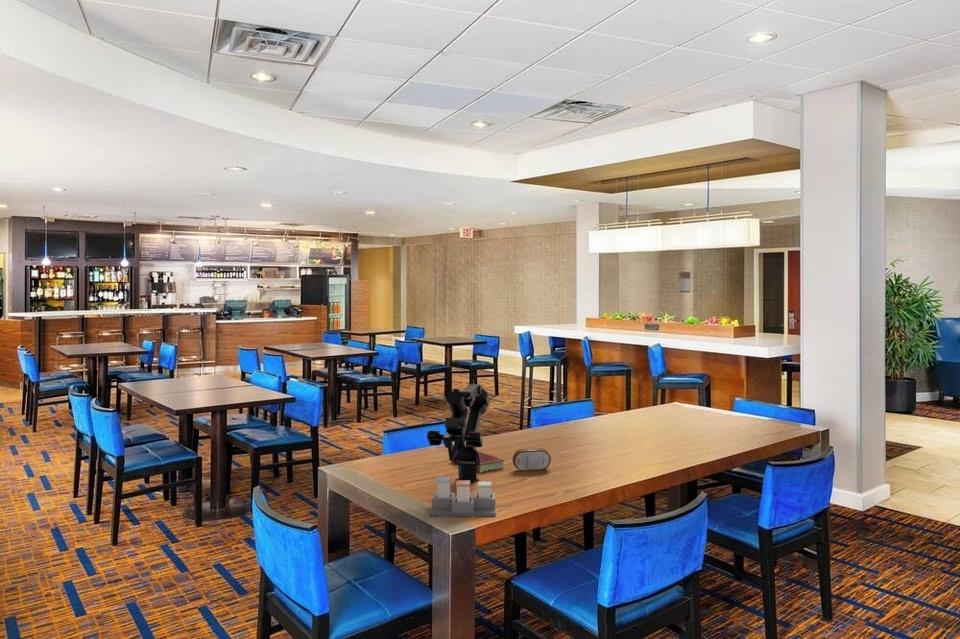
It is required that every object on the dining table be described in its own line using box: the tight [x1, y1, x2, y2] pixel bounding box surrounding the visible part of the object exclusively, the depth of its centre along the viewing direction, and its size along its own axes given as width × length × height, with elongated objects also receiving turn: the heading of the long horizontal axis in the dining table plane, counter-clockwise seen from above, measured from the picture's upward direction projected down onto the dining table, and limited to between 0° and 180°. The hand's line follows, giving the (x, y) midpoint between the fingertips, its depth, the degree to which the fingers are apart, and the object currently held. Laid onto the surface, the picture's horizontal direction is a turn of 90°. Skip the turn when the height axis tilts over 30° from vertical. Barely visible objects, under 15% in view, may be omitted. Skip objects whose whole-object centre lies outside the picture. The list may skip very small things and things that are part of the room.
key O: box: [477, 481, 492, 498], centre depth 211 cm, size 4×4×7 cm
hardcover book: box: [452, 449, 505, 474], centre depth 265 cm, size 12×21×4 cm, turn 33°
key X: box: [455, 480, 471, 502], centre depth 207 cm, size 4×4×7 cm
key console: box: [429, 492, 497, 517], centre depth 209 cm, size 11×20×4 cm, turn 88°
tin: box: [512, 447, 552, 472], centre depth 257 cm, size 15×3×8 cm, turn 100°
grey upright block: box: [435, 476, 452, 498], centre depth 211 cm, size 4×4×7 cm
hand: (450, 460), depth 219 cm, fingers closed
